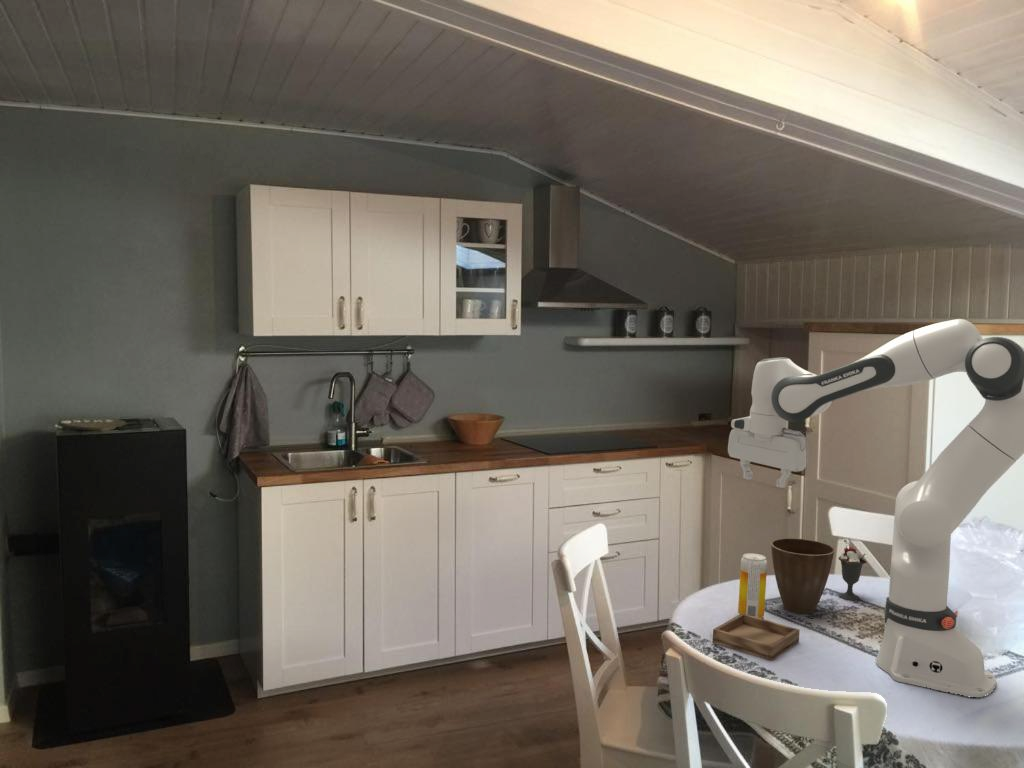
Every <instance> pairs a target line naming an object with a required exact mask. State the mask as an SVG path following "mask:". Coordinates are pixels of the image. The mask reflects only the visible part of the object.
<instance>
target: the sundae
mask: <svg viewBox="0 0 1024 768" xmlns="http://www.w3.org/2000/svg"><path fill="white" fill-rule="evenodd" d="M843 542H844V543H845V544H846V545H848V546H849V547H848V546H846V547H845V548H844V549H843V552H842V553H841V555H840V556H839V557H837V559H838V560H839V561H840V565H841V576H842V577H841V578H842V579H843V581H844V582H845V583H846V584H847V590H846V591H845V592H842V593H840V594H839V597H840V598H842V599H844V600H847V601H858V600H860V598H861V597H860V596H859V595H857V594H854V591H853V586H854V585H855V584H856V583H858V582H859V581H860V577H861V572H862V567H863V565H864V564H867V561H866V559H864V557H865V556H866V553H864V554H862V556H861V555H860V554H861V553H860V552H859V551H858V550H857V549H856V548H854V547H853V546H851V545H850V544H849V542H848V541H847V540H845V539H843Z"/></svg>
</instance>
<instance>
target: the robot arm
mask: <svg viewBox="0 0 1024 768" xmlns="http://www.w3.org/2000/svg"><path fill="white" fill-rule="evenodd" d="M957 372H958V373H960V372H961V373H962V372H963V373H966V375H967V378H968V379H969V381H970V382H971V383H972V384H973V386H974V387H975V388H976V390H977V391H978V393H979V394H980V396H981V397H982V398H983V399H985V400H984V404H983V407H982V408H981V410H980V411H979V412H978V414H977V415H976V416H975V417H974V418H973V419H972V420H971V421H970V422H969V423H968V424H967V425H966V426H964V428H963V429H962V430H961V431H960V432H959V433H958V434H957V436H955V438H953V440H952V441H951V442H950V443H949V444H948V445H947V446H946V447H945V448H944V449H943V450H942V451H941V452H940V454H939V455H938V456H937V458H935V460H934V461H933V462H932V464H931V465H930V466H929V467H928V469H927V470H926V471H925V472H924V473H923V475H922V476H921V477H920V478H919V479H918V480H914V481H911V482H909V483H908V484H905V485H904V486H903V487H902V488H901V489H900V490H899V491H898V493H897V494H896V498H895V505H894V507H895V508H894V518H893V519H894V522H893V532H892V533H893V534H892V545H891V546H892V547H891V548H892V549H891V561H890V570H889V571H890V573H889V574H890V576H889V586H888V587H889V589H888V596H887V597H886V598H885V599H886V600H885V605H884V625H885V626H884V631H883V635H882V639H881V640H882V641H881V644H880V646H879V649H878V653H877V655H876V657H875V663H876V665H877V666H878V667H879V668H881V669H882V670H884V671H885V672H886V673H888V674H889V676H890V677H891V678H892V679H893V680H894V681H896V682H900V683H904V684H909V685H912V686H914V685H915V686H919V687H923V688H926V687H927V688H926V689H930V688H931V689H930V690H934V691H939V690H940V691H941V692H946V693H948V692H950V693H949V694H953V693H956V694H955V695H957V694H960V695H959V696H961V695H964V696H963V697H966V696H970V697H981V698H983V697H982V696H985V695H987V694H989V693H990V694H992V693H993V692H994V690H995V689H994V688H996V687H995V686H997V679H996V676H995V675H994V674H993V673H992V672H990V671H987V670H985V661H984V660H985V659H984V656H983V653H982V650H981V649H980V648H979V647H978V645H976V644H975V643H974V642H973V641H971V639H969V638H968V637H967V636H966V635H965V634H964V633H963V632H962V631H961V630H960V629H959V628H958V627H957V626H956V625H957V617H958V613H959V611H958V610H956V611H953V610H952V609H951V608H950V607H948V593H949V581H950V580H949V579H950V567H951V566H950V561H951V560H950V559H951V540H952V538H951V536H952V534H953V532H955V530H957V528H958V527H959V526H960V525H961V524H962V522H963V521H964V520H965V519H966V517H968V515H969V514H970V513H971V512H972V510H973V509H974V508H975V507H976V505H978V503H979V502H980V501H981V499H982V498H983V497H984V495H985V494H986V493H987V492H988V491H989V490H990V488H991V487H993V485H994V484H996V482H997V481H998V480H999V479H1001V477H1002V476H1003V475H1004V474H1005V473H1006V472H1007V471H1008V470H1009V469H1010V468H1012V466H1013V465H1014V464H1015V463H1016V462H1017V461H1018V460H1019V459H1020V458H1021V457H1022V456H1023V455H1024V347H1023V346H1022V345H1020V344H1018V343H1017V342H1016V341H1014V340H1012V339H1009V338H1007V337H1003V336H990V337H986V338H983V337H982V336H981V333H980V331H979V329H978V328H977V327H976V326H975V325H974V324H973V323H972V322H970V321H969V320H967V319H964V318H956V319H951V320H945V321H941V322H936V323H933V324H929V325H925V326H922V327H920V328H917V329H914V330H911V331H909V332H905V333H904V334H901V335H899V336H897V337H895V338H894V339H892V340H890V341H888V342H887V343H885V344H883V345H881V346H880V347H878V348H877V349H875V350H873V351H871V352H870V353H868V354H866V355H865V356H863V357H861V358H859V359H857V360H856V361H855V360H854V362H852V363H849V364H846V365H844V366H840V367H837V368H835V369H832V370H831V369H830V370H828V371H826V372H823V373H820V374H815V373H813V372H811V371H809V370H806V369H804V368H802V367H800V366H799V365H797V364H796V363H794V361H792V359H790V358H788V357H781V356H780V357H772V358H771V357H770V358H763V359H761V360H759V361H758V362H757V363H756V365H755V368H754V371H753V376H752V377H753V378H752V384H751V392H750V393H751V398H752V399H751V400H752V404H751V406H750V409H749V416H748V415H747V416H745V417H741V418H740V417H739V418H735V419H732V420H731V422H730V426H731V428H732V429H731V431H730V432H729V436H728V443H727V454H728V456H729V457H730V458H734V459H738V460H739V461H740V463H739V464H740V466H741V469H742V471H743V472H742V473H743V475H742V476H743V479H746V480H752V479H753V477H754V476H753V475H754V472H753V471H751V468H750V466H749V465H750V464H751V462H752V463H756V464H758V465H759V464H761V465H764V466H768V467H773V468H777V469H780V474H781V475H780V478H777V479H775V486H776V487H778V488H782V489H783V488H784V489H785V488H786V483H787V480H788V479H789V477H790V475H792V472H794V473H795V472H796V473H797V472H802V471H804V470H805V469H806V467H807V448H806V447H807V437H806V436H805V435H804V434H803V433H802V431H799V430H793V429H790V428H789V422H790V423H798V422H802V421H806V420H807V419H809V418H812V417H814V416H818V415H820V414H822V413H824V412H825V411H827V410H828V409H829V408H830V407H831V406H832V404H833V402H834V401H837V400H839V399H842V398H845V397H848V396H851V395H853V394H856V393H860V392H864V391H869V390H873V389H882V388H883V389H884V388H895V387H905V386H911V385H916V384H917V385H918V384H920V383H924V382H928V381H931V380H934V379H936V378H940V377H943V376H946V375H948V374H953V373H957ZM993 689H994V690H993ZM991 692H992V693H991ZM990 694H989V695H990ZM987 696H988V695H987ZM970 697H969V698H970ZM985 697H986V696H985Z"/></svg>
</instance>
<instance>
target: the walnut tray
mask: <svg viewBox="0 0 1024 768" xmlns="http://www.w3.org/2000/svg"><path fill="white" fill-rule="evenodd" d="M800 633H801V631H800V629H799V628H796V627H793V626H789V625H786V624H785V625H784V624H781V623H778V622H774V621H771V620H768V619H764V618H762V619H761V618H757V617H754V616H750V615H747V614H743V613H742V614H738V615H736V616H734V617H733V618H731V619H729V620H727V621H726V622H724V623H722V624H720V625H719V626H716V627H715V628H713V629H712V643H713V642H714V643H713V644H716V643H717V645H720V646H723V647H727V648H728V649H729V648H730V649H733V650H736V651H739V652H743V653H745V654H749V655H752V656H755V657H758V658H762V659H765V660H768V661H771V662H772V661H774V660H776V659H777V658H778V657H780V656H781V655H783V654H785V652H787V651H788V650H790V649H791V648H793V647H794V646H796V645H797V644H799V643H800ZM798 642H799V643H798ZM795 644H796V645H795Z"/></svg>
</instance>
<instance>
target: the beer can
mask: <svg viewBox="0 0 1024 768" xmlns="http://www.w3.org/2000/svg"><path fill="white" fill-rule="evenodd" d="M767 568H768V560H767V558H766V556H765V555H763V554H760V553H759V554H758V553H755V552H754V553H752V552H751V553H744V554H743V555H742V557H741V559H740V569H739V570H740V572H739V586H738V588H739V589H738V590H739V591H738V593H739V594H738V607H737V609H738V610H737V613H738V615H740V614H742V613H743V614H747V615H750V616H754V617H757V618H761V619H763V617H765V609H766V608H765V606H766V605H765V604H766V590H767V589H766V588H767V587H766V585H767V574H768V573H767V571H768V569H767Z"/></svg>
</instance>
